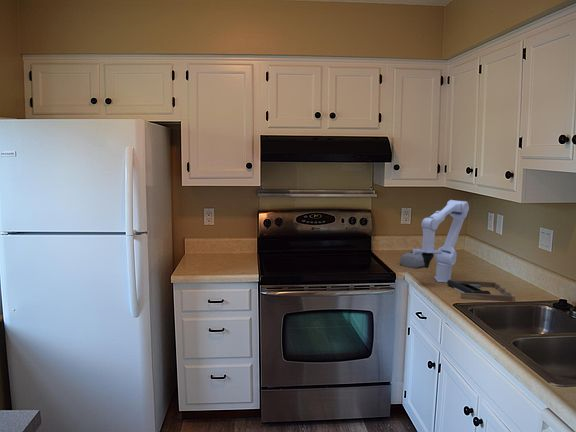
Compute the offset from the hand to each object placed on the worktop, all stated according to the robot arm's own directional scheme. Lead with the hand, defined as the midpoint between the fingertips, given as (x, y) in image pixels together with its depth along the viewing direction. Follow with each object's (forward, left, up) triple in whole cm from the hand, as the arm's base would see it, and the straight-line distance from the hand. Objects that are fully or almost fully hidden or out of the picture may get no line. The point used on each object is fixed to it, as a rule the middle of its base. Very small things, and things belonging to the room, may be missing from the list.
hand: (426, 267), depth 227 cm
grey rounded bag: (-45, +3, -10) cm, 46 cm away
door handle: (+4, +22, -10) cm, 24 cm away
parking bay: (+7, +25, -9) cm, 28 cm away
